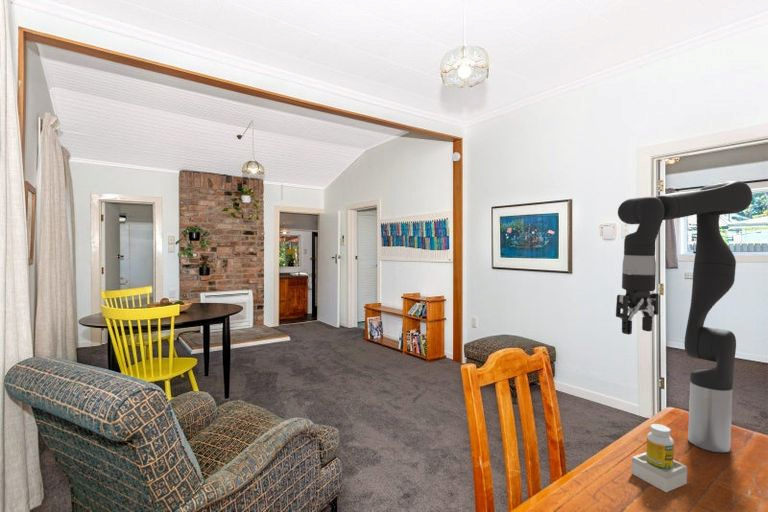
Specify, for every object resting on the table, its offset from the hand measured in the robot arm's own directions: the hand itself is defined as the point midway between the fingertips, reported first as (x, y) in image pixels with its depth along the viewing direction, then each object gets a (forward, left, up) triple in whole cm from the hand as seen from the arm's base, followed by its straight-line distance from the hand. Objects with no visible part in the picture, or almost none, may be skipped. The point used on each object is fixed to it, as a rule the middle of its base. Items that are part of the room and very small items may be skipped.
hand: (636, 332), depth 105 cm
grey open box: (+6, +10, -33) cm, 35 cm away
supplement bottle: (+6, +10, -30) cm, 32 cm away
